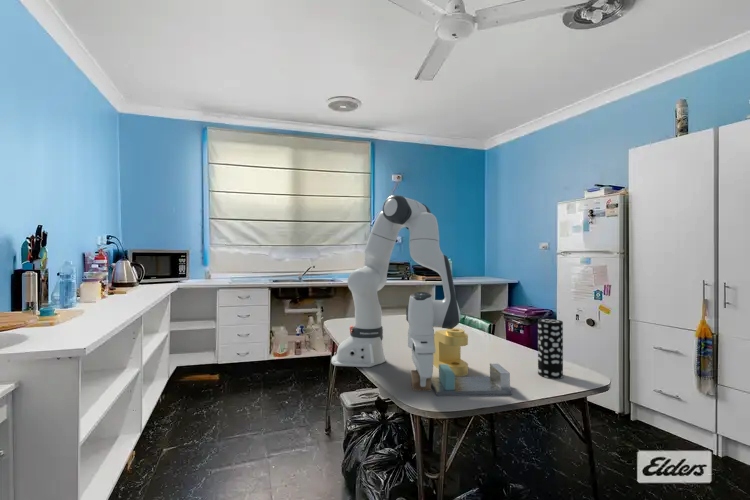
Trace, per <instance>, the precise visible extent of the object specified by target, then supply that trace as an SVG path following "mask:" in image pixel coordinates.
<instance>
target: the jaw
mask: <svg viewBox="0 0 750 500" xmlns="http://www.w3.org/2000/svg"><path fill="white" fill-rule="evenodd" d="M438 377H439V380H440V381H441V383H442V385H443V386H444V388H445V390H455V377H456V376H455V374H454V372H453V371H452V370H451V368H450V367H449V366H448V364H440V365H439V369H438Z"/></svg>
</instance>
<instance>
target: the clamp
mask: <svg viewBox="0 0 750 500" xmlns="http://www.w3.org/2000/svg"><path fill="white" fill-rule="evenodd" d="M468 338H469V334H468V333H466V332H465V330H464V329H463V328H457V327H456V328H455V327H454V328H452V329H444V330H434V344H435V353H433V356H434V360H433V367H436V368H437V369H438V370H439V365H440V364H448V366H449V367H450V368H451V370H452V371H453V372H454V374H455V377H465V376H467V375H468V374H469V364H468V362H466V361H465V360H463V359H461V347H465V346H468V345H469V339H468Z"/></svg>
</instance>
